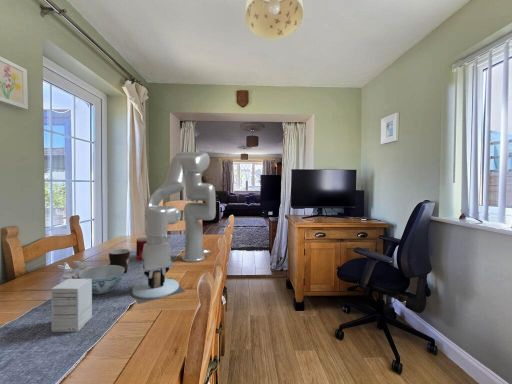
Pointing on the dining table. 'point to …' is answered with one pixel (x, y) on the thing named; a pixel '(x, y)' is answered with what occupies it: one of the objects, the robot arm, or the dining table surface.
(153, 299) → the mat
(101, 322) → the dining table surface
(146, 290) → the lid
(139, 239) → the canned food
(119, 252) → the coffee mug
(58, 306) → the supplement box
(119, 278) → the chinaware
